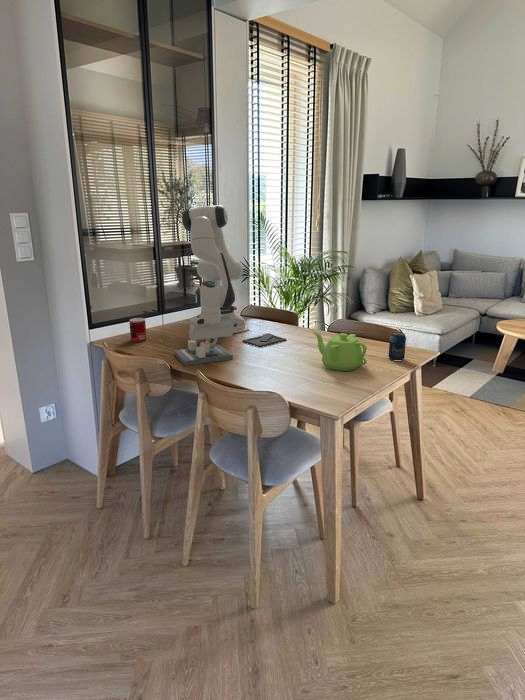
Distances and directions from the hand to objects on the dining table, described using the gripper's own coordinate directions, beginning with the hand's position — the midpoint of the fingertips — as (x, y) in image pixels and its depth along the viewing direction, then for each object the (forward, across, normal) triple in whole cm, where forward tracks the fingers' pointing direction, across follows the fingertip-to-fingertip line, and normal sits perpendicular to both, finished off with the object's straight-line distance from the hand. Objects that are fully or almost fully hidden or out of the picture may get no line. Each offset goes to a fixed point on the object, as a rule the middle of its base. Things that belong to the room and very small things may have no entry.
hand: (211, 347), depth 224 cm
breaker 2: (+2, +7, +6) cm, 10 cm away
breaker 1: (+2, +7, -6) cm, 10 cm away
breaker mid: (+2, +3, 0) cm, 4 cm away
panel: (+4, +4, 0) cm, 6 cm away
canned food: (+4, +25, -41) cm, 48 cm away
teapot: (+4, -44, +37) cm, 58 cm away
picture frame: (+5, -32, -11) cm, 34 cm away
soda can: (+4, -72, +41) cm, 84 cm away
